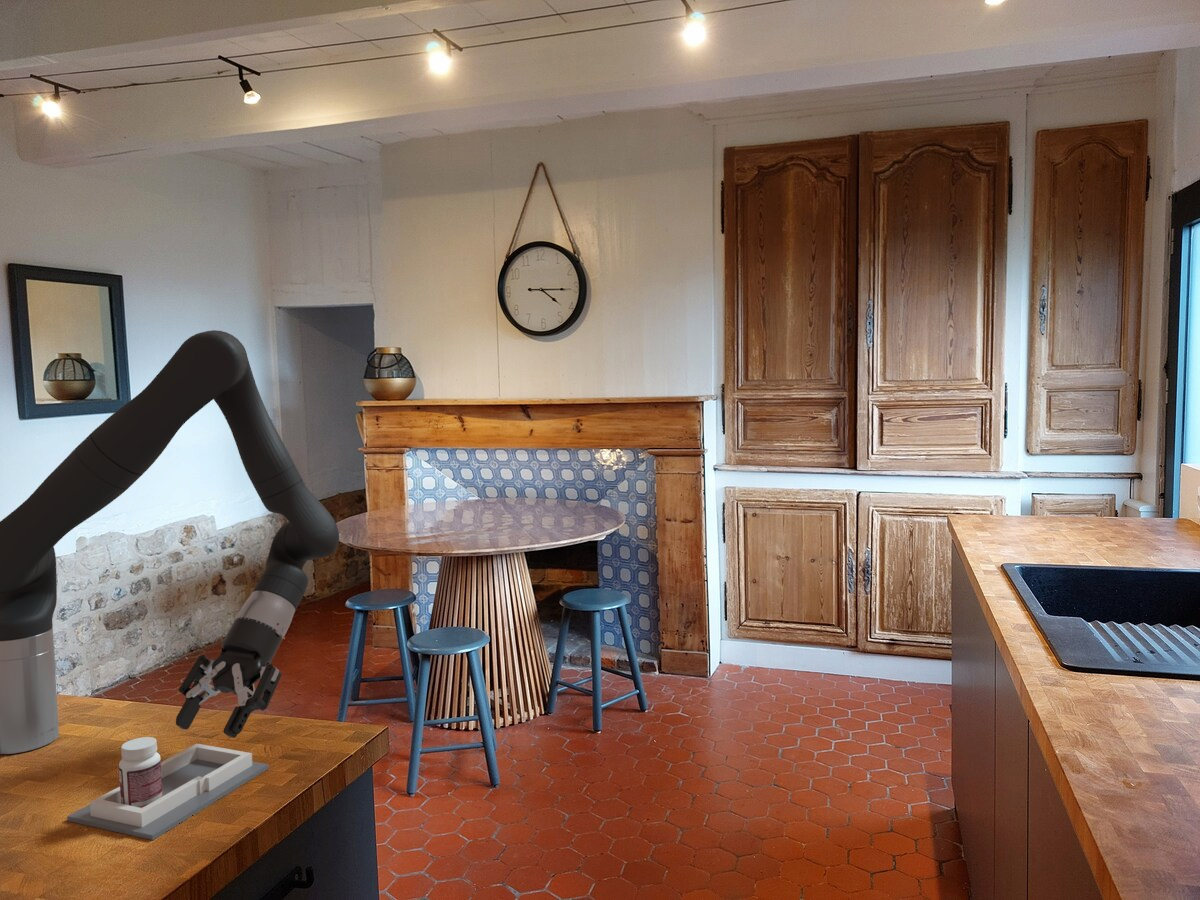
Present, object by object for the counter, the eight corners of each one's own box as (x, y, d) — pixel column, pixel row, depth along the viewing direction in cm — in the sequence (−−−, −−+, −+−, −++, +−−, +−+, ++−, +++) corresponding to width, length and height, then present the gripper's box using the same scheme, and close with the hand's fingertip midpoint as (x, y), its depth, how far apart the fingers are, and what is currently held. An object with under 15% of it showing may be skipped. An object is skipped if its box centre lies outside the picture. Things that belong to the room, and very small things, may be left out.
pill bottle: (171, 799, 111) (168, 737, 110) (143, 817, 107) (139, 753, 106) (141, 795, 112) (138, 733, 112) (112, 812, 108) (108, 748, 107)
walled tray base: (67, 820, 107) (66, 802, 107) (192, 754, 126) (191, 738, 126) (152, 840, 102) (151, 821, 102) (268, 768, 121) (268, 752, 121)
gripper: (208, 611, 128) (149, 713, 118) (285, 619, 123) (230, 727, 114) (236, 635, 134) (181, 735, 124) (310, 644, 129) (260, 749, 119)
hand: (204, 731), depth 119 cm, fingers open, 8 cm apart
